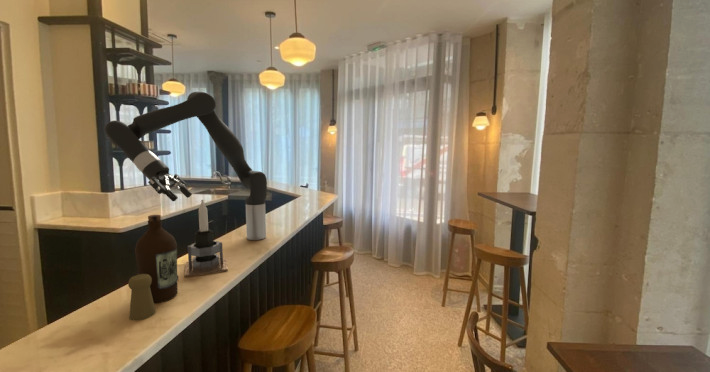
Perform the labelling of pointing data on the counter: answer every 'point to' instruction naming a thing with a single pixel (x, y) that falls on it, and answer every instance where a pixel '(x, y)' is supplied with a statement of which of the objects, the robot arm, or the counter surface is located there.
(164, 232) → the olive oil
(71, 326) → the counter surface
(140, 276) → the cork
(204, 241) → the bottle
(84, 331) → the counter surface
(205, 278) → the counter surface
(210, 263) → the collar stand
